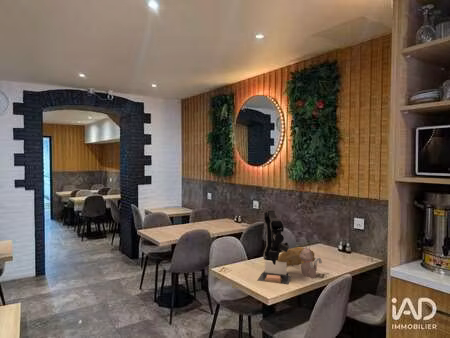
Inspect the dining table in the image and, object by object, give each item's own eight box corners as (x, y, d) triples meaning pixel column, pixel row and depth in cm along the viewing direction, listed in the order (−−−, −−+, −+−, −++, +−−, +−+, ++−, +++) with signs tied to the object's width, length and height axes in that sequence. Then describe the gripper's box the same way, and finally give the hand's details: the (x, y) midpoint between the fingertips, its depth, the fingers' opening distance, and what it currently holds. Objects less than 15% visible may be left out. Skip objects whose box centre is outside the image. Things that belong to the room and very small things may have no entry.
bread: (307, 256, 257) (307, 244, 257) (317, 260, 248) (317, 247, 248) (273, 263, 238) (274, 250, 238) (283, 267, 229) (283, 254, 229)
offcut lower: (266, 278, 205) (266, 276, 204) (281, 280, 201) (282, 278, 201) (264, 281, 199) (264, 279, 199) (280, 283, 196) (280, 281, 196)
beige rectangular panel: (265, 274, 211) (265, 260, 211) (286, 277, 206) (286, 262, 206) (264, 275, 209) (265, 261, 209) (286, 278, 204) (286, 263, 204)
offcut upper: (266, 276, 203) (266, 274, 203) (280, 277, 202) (280, 275, 202) (266, 279, 198) (266, 277, 198) (280, 280, 197) (280, 278, 197)
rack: (262, 273, 216) (262, 268, 216) (291, 277, 209) (291, 272, 209) (257, 282, 201) (257, 276, 200) (288, 286, 194) (288, 280, 194)
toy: (296, 275, 214) (296, 246, 213) (316, 271, 222) (316, 243, 221) (305, 279, 206) (305, 249, 205) (325, 275, 214) (326, 246, 213)
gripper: (286, 243, 196) (285, 268, 196) (290, 237, 213) (289, 259, 214) (268, 242, 199) (268, 266, 200) (273, 235, 217) (273, 258, 217)
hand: (275, 262), depth 208 cm, fingers open, 9 cm apart
